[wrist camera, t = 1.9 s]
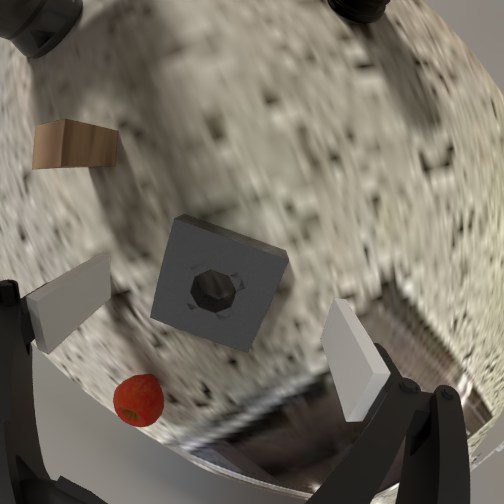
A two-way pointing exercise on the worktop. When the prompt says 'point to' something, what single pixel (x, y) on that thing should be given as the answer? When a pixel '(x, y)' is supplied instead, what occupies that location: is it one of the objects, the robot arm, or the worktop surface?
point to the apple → (139, 400)
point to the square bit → (73, 145)
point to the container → (359, 9)
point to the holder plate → (223, 261)
